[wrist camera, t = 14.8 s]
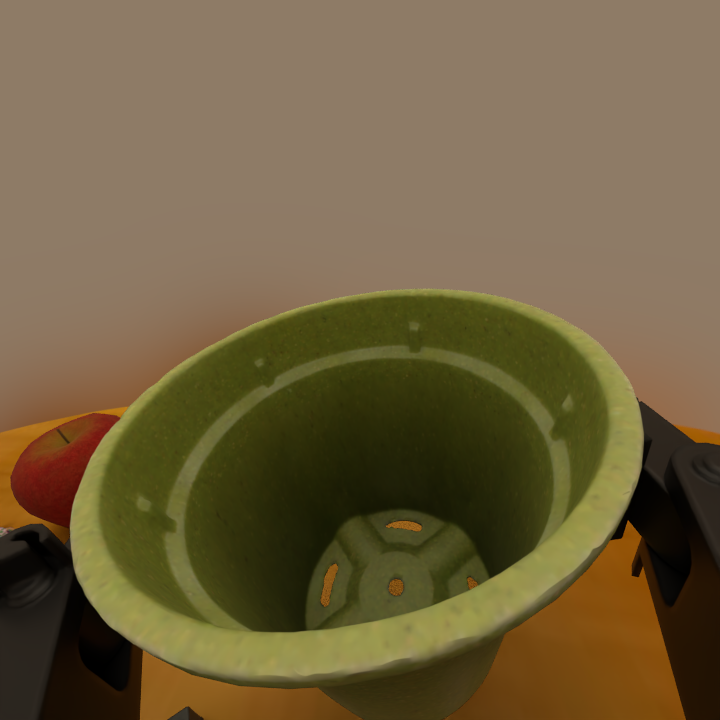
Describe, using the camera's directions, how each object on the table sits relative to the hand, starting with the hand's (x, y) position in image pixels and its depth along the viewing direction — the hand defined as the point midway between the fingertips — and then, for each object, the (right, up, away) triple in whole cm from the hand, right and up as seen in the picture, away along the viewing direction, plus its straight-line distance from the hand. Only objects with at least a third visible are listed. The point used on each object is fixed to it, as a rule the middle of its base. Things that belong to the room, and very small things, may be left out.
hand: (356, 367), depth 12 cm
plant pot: (+1, -8, -1) cm, 8 cm away
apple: (-20, -11, +16) cm, 28 cm away
